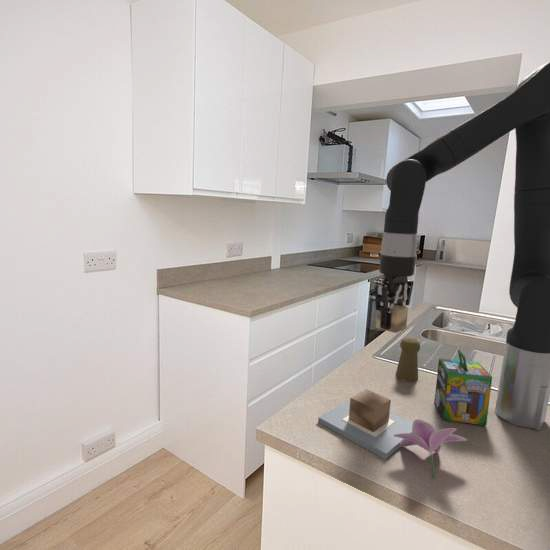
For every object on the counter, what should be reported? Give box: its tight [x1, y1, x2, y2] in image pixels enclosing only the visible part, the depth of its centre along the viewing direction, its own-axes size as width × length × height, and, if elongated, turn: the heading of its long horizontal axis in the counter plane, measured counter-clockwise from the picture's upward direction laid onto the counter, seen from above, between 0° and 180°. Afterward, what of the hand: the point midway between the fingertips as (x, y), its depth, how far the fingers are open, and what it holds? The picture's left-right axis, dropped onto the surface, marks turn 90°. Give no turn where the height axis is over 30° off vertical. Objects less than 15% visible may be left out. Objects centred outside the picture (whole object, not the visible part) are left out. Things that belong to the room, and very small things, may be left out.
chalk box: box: [433, 348, 493, 426], centre depth 84 cm, size 9×9×15 cm
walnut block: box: [349, 388, 392, 432], centre depth 78 cm, size 6×6×5 cm
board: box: [317, 398, 414, 460], centre depth 78 cm, size 16×14×1 cm
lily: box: [393, 418, 468, 479], centre depth 67 cm, size 12×12×10 cm
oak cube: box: [375, 303, 409, 334], centre depth 85 cm, size 5×5×5 cm
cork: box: [395, 337, 421, 383], centre depth 102 cm, size 6×6×11 cm
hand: (391, 325), depth 85 cm, fingers closed on oak cube, 5 cm apart
